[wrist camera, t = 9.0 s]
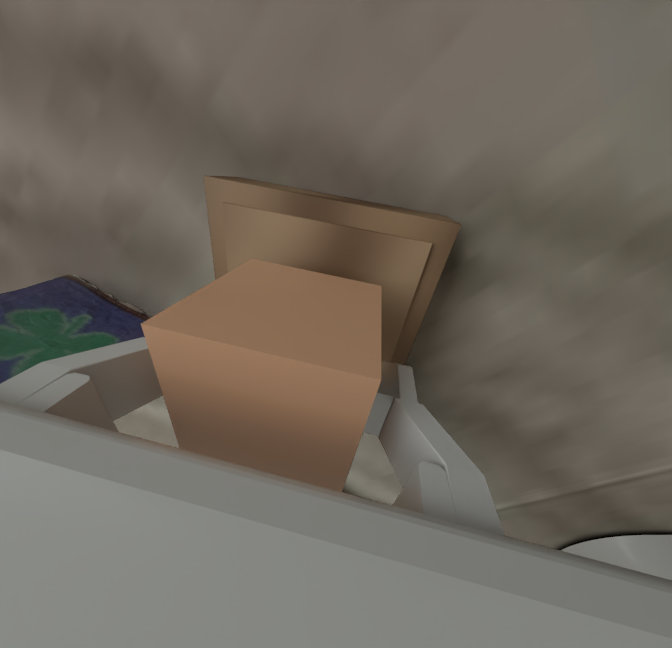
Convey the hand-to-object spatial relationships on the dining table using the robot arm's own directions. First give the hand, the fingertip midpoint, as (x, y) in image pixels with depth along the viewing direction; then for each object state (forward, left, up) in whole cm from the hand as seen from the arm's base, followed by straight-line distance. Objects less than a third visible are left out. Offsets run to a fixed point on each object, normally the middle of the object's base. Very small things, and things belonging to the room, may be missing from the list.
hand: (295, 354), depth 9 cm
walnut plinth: (0, 0, -6) cm, 6 cm away
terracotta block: (0, 0, -2) cm, 2 cm away
